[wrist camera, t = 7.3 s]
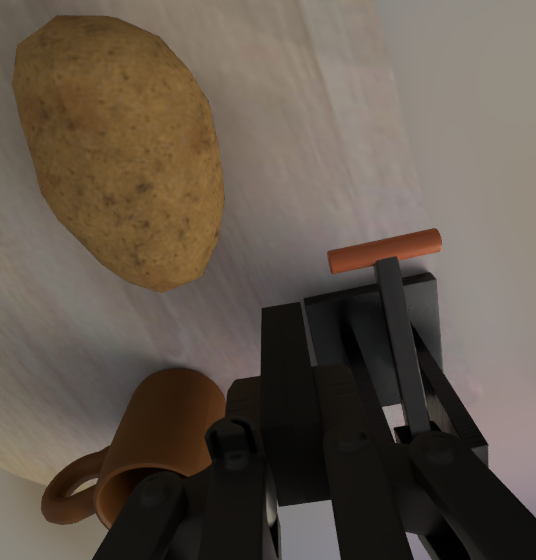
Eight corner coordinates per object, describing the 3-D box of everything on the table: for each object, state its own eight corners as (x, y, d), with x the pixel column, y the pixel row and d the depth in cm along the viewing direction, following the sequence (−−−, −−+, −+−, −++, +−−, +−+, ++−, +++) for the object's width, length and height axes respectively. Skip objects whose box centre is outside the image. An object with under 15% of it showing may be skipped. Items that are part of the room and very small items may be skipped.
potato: (126, 275, 30) (82, 336, 23) (24, 57, 25) (-77, 45, 17) (260, 237, 29) (260, 288, 22) (186, 0, 24) (151, -38, 16)
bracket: (303, 298, 31) (327, 426, 19) (430, 271, 30) (535, 388, 19) (327, 406, 35) (359, 567, 23) (439, 385, 34) (531, 540, 23)
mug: (102, 457, 37) (54, 569, 28) (65, 386, 34) (-3, 488, 25) (239, 430, 36) (231, 538, 27) (213, 354, 33) (195, 450, 24)
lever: (325, 251, 23) (328, 251, 21) (428, 228, 23) (444, 226, 20) (373, 480, 24) (381, 506, 22) (473, 463, 24) (493, 488, 21)
